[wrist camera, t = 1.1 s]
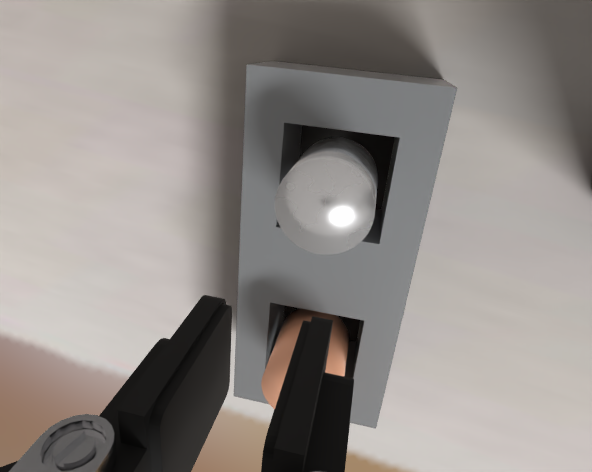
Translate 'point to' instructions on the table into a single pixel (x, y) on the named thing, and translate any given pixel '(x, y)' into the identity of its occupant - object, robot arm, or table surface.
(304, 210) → the metal plunger
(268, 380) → the peach rounded cylinder
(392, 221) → the plunger housing
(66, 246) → the table surface
